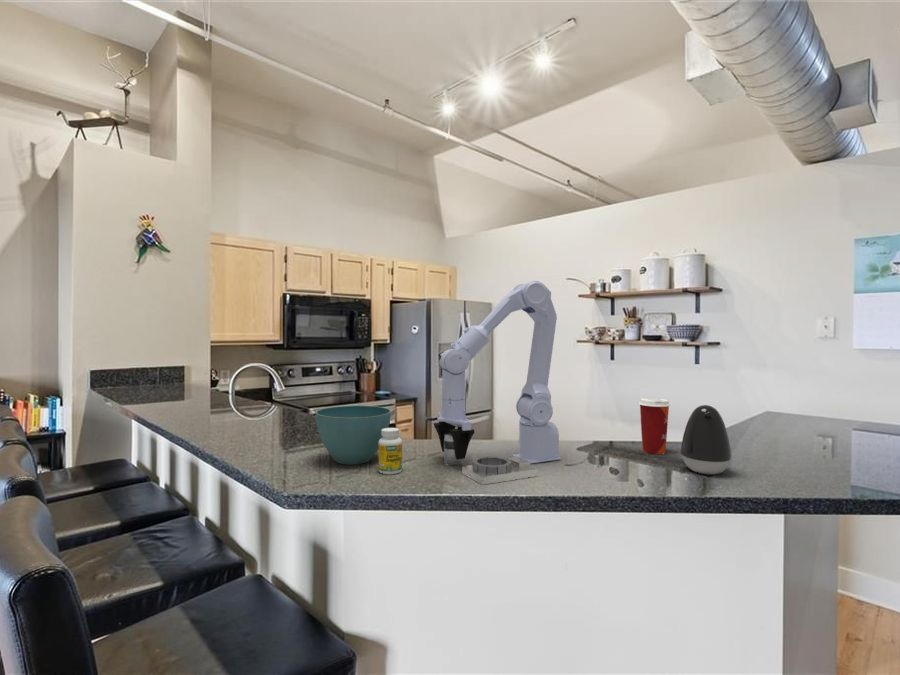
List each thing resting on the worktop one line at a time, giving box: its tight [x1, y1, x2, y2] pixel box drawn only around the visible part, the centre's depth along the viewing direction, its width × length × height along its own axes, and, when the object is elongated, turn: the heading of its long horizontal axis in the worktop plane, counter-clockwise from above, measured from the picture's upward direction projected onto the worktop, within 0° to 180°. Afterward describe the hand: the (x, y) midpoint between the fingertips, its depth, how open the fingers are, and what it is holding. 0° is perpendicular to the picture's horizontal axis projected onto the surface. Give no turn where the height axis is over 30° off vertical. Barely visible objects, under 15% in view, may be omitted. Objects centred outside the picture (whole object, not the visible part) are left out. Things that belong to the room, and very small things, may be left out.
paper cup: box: [638, 397, 671, 455], centre depth 129 cm, size 8×8×14 cm
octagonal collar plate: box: [461, 456, 539, 486], centre depth 108 cm, size 14×9×3 cm, turn 116°
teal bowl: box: [315, 405, 392, 465], centre depth 120 cm, size 18×18×12 cm
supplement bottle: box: [378, 427, 403, 475], centre depth 110 cm, size 5×5×10 cm
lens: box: [443, 432, 464, 466], centre depth 117 cm, size 5×5×7 cm
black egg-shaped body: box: [680, 404, 732, 476], centre depth 111 cm, size 10×10×15 cm
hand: (453, 455), depth 117 cm, fingers open, 7 cm apart
